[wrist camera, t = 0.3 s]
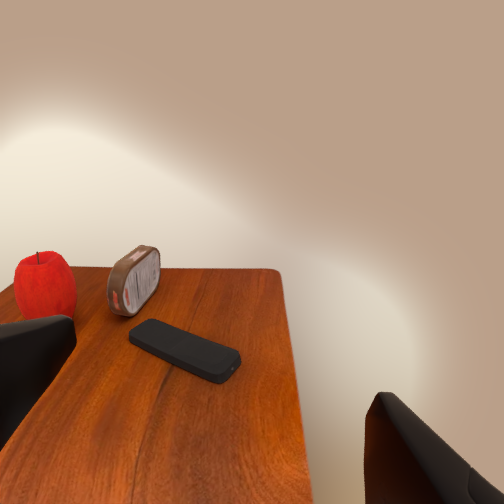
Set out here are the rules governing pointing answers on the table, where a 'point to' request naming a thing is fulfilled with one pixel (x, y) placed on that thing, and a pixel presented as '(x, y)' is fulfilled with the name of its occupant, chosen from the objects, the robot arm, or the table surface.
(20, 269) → the apple
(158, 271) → the tin
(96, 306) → the table surface
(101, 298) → the table surface
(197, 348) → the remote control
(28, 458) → the table surface
